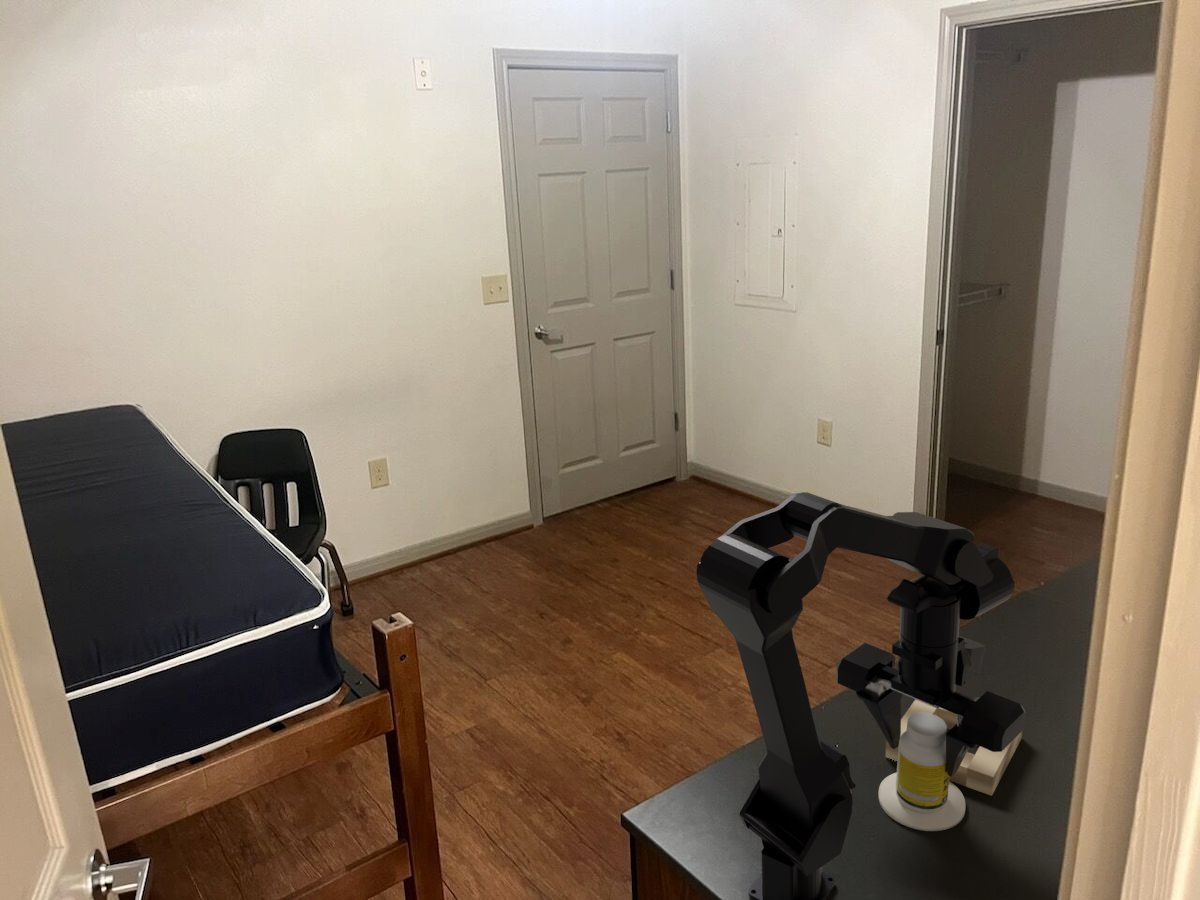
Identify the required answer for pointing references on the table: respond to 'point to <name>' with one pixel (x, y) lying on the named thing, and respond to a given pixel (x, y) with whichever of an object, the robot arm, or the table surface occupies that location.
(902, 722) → the frame
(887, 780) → the ceramic coaster
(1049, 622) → the table surface
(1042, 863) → the table surface
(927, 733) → the supplement bottle
